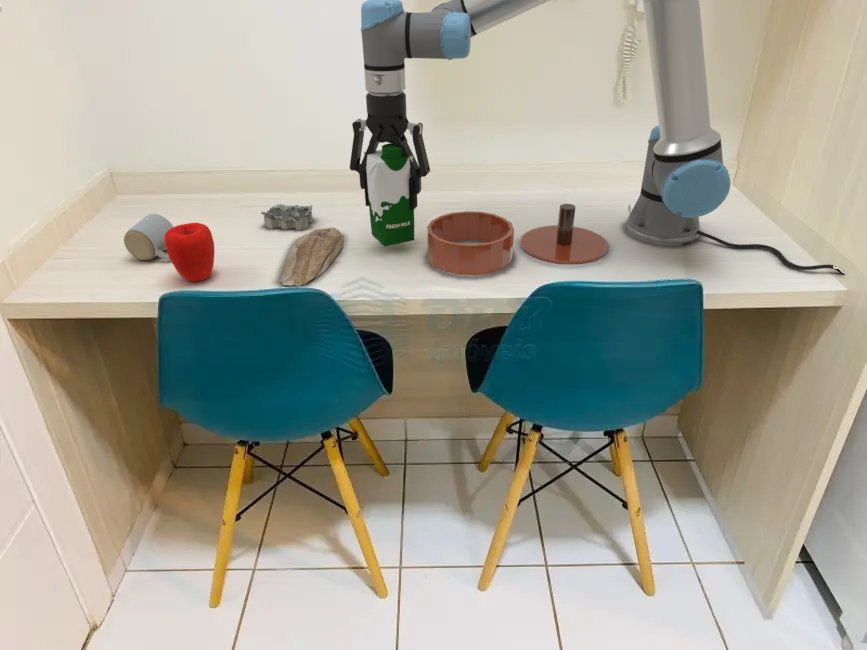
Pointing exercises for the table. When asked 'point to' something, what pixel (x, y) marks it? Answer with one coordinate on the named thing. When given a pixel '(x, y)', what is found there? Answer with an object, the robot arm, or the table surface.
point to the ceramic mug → (148, 237)
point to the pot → (470, 255)
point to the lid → (564, 241)
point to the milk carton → (390, 195)
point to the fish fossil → (311, 256)
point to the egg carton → (288, 217)
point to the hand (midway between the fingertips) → (391, 205)
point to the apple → (191, 250)
